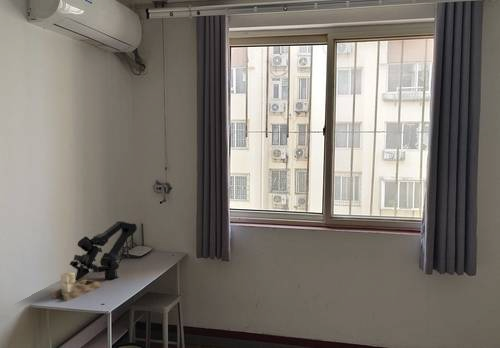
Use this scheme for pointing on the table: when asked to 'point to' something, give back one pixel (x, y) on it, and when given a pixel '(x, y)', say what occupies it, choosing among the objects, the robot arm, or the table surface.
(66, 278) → the maple block
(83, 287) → the trap deck
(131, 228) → the robot arm
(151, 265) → the table surface
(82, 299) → the table surface
